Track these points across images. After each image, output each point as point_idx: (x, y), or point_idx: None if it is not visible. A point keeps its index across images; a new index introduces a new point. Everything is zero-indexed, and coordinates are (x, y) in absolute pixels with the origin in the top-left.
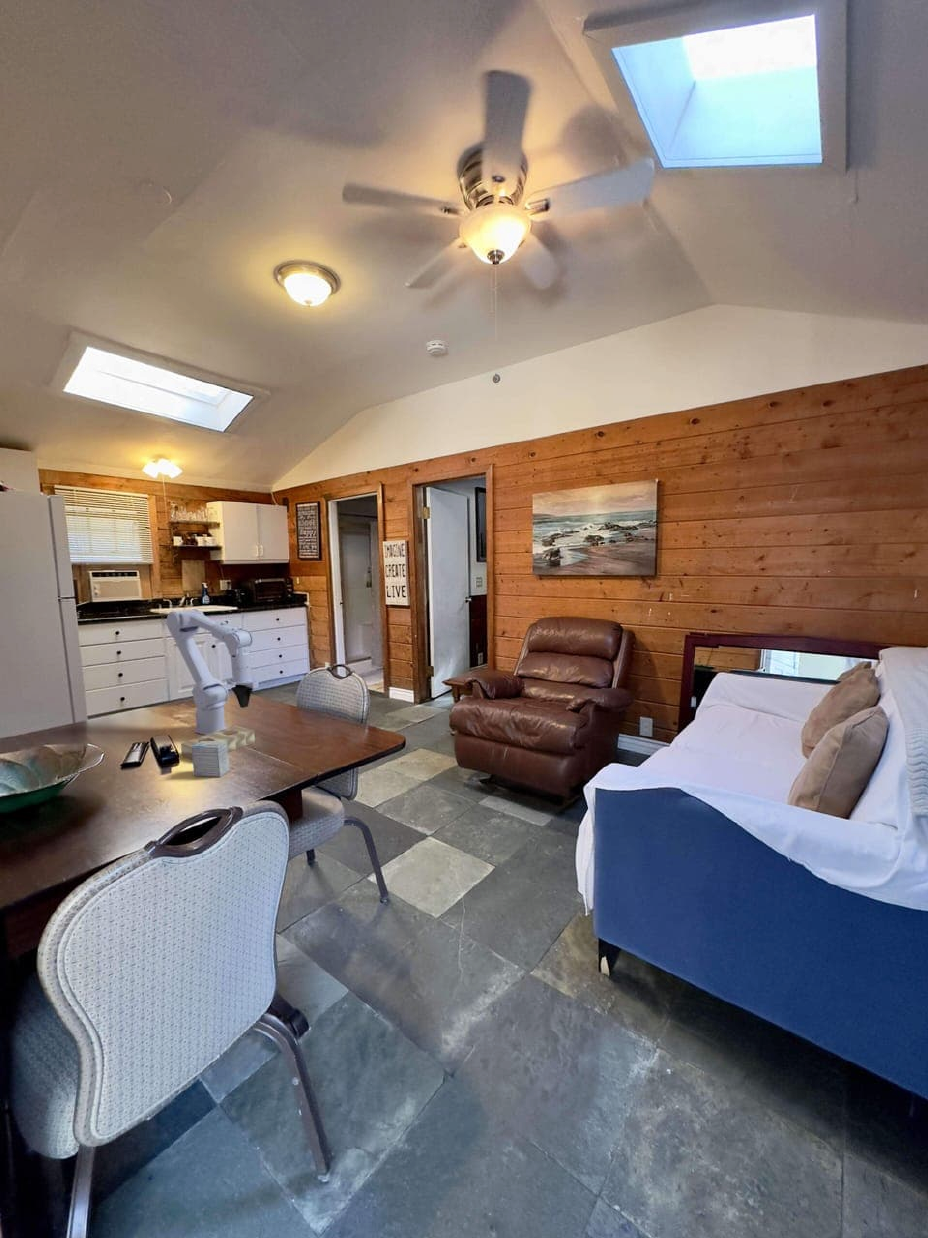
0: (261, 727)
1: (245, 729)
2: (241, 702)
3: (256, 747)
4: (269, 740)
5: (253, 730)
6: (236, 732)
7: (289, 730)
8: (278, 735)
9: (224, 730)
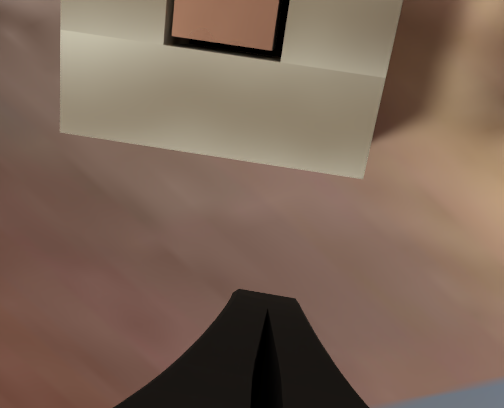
0: None
1: (165, 128)
2: (217, 324)
3: (2, 35)
4: (41, 186)
5: (65, 132)
6: (173, 21)
7: (80, 377)
8: (68, 284)
9: (355, 24)
